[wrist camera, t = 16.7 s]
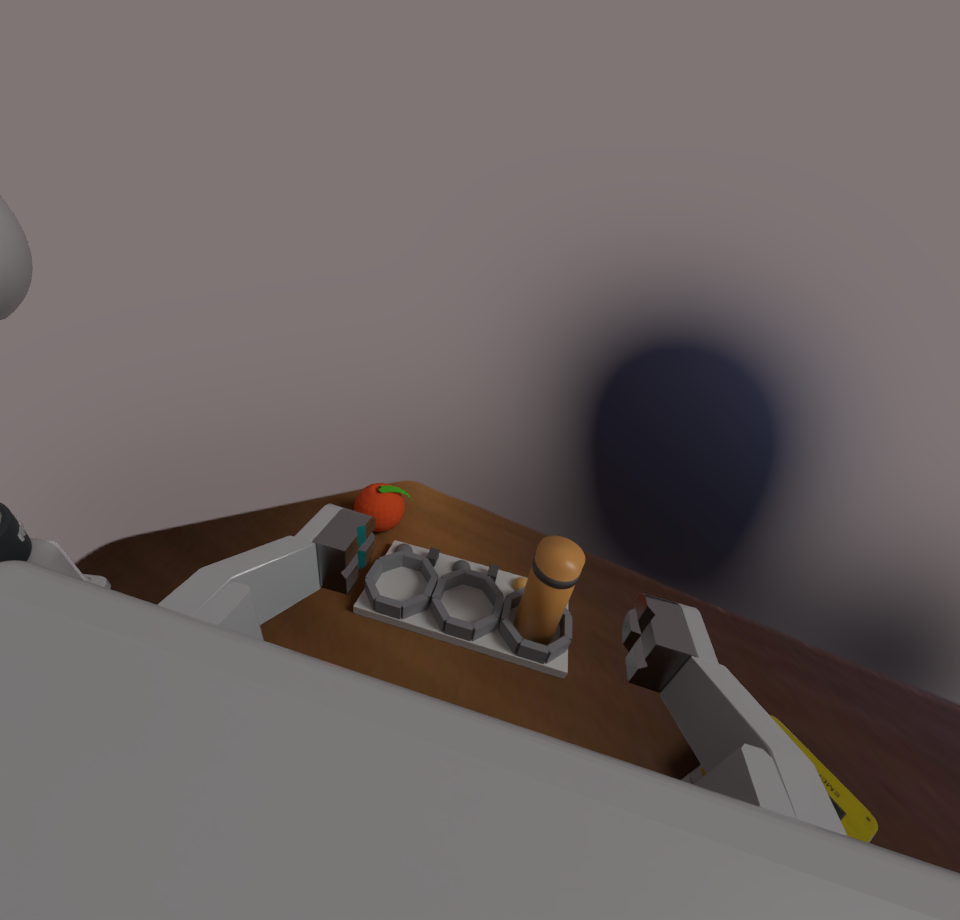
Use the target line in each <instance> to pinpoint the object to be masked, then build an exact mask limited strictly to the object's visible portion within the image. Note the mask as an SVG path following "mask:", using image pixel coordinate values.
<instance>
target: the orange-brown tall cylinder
mask: <svg viewBox="0 0 960 920" xmlns="http://www.w3.org/2000/svg"><path fill="white" fill-rule="evenodd" d="M584 563H585V555H584V553H583V551H582V549H581V548H580V547H579V546H578V545H577V544H575V543H574V542H573V541H571V540H569V539H567V538H564V537H560V536H548V537H545V538H543V539H542V540H541V541H540V543H539V545H538V548H537V551H536V553H535V556H534V559H533V562H532V567H531V570H530V573H529V576H528V579H527V582H526V585H525V588H524V591H523V595H522V598H521V601H520V604H519V607H518V610H517V613H516V616H515V619H514V627H515V628H516V630H517V631H518V632H519V634H520V635H521V637H522V638H523V639H526V640H529V641H533V642H536V643H539V644H542V645H548V644H549V643H550V642H551V640H552V638H553V636H554V633H555V631H556V629H557V626H558V624H559V622H560V619H561V617H562V615H563V612H564V610H565V608H566V605H567V603H568V601H569V598H570V596H571V593H572V591H573V589H574V586H575V584H576V583H577V581H578V578H579V576H580V574H581V570H582V568H583V565H584Z"/></svg>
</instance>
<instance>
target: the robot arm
mask: <svg viewBox="0 0 960 920" xmlns="http://www.w3.org/2000/svg"><path fill="white" fill-rule="evenodd" d="M31 277H32V258H31V252H30V248H29V245H28V242H27V239H26V236H25V234H24V231H23V230H22V228H21V226H20V224H19V222H18V220H17V218H16V217H15V215H14V213H13V212H12V211H11V209H10V208H9V206H8V205H7V203H6V202H5V201H4V199H3V198H2V197H1V196H0V320H2V319H5V318H7V317H8V316H9V315H10V314H11V313H13V312H14V311H15V310H16V309H17V307H18V306H19V305H20V304H21V302H22V301H23V299H24V298H25V296H26V294H27V292H28V289H29V286H30V283H31ZM375 527H376V519H375V518H374V517H372V516H369V515H366V514H363V513H359V512H356V511H353V510H350V509H347V508H342V507H339V506H336V505H333V504H327V505H325V506H324V507H323V508H322V509H321V510H320V511H319V512H318V513H317V514H316V515H315V516H314V517H313V518H312V519H311V520H310V521H309V522H308V523H307V524H306V525H305V526H304V527H303V528H302V529H301V530H300V531H299V532H298V533H297V534H296V535H295V536H294V537H293V536H287V537H284V538H282V539H279V540H276V541H274V542H271V543H268V544H265V545H263V546H260V547H257V548H255V549H252V550H249V551H246V552H244V553H241V554H238V555H236V556H233V557H230V558H227V559H225V560H222V561H219V562H217V563H214V564H211V565H208V566H206V567H203V568H200V569H199V570H198V571H197V572H196V573H195V574H193V575H192V576H191V577H190V578H189V579H187V580H186V581H185V582H184V583H183V584H181V585H180V586H179V587H178V588H177V589H176V590H174V591H173V592H172V593H171V594H170V595H168V596H167V597H166V598H165V599H164V600H163V601H161V602H160V603H159V604H158V605H155V604H152V603H149V602H146V601H143V600H140V599H137V598H134V597H131V596H129V595H126V594H123V593H120V592H117V591H114V590H111V589H110V588H111V584H110V583H109V581H108V580H107V579H106V578H105V577H102V576H96V575H87V574H82V573H81V572H80V571H79V569H78V568H77V567H76V565H75V564H74V563H73V562H72V560H71V559H70V558H69V557H68V555H67V554H66V553H65V551H64V550H63V549H62V548H61V547H60V545H59V544H57V543H56V542H54V541H45V540H41V539H32V538H29V536H28V535H27V533H26V531H25V528H24V526H23V524H22V523H21V522H20V520H19V519H18V518H17V516H15V515H14V514H12V513H11V512H10V510H9V509H8V508H7V507H6V506H5V505H4V504H2V503H0V920H960V873H957V872H954V871H951V870H948V869H945V868H942V867H939V866H936V865H933V864H930V863H927V862H924V861H921V860H918V859H915V858H912V857H909V856H906V855H903V854H900V853H897V852H894V851H891V850H888V849H885V848H882V847H879V846H876V845H873V844H870V843H867V842H864V841H861V840H858V839H855V838H852V837H849V836H847V834H846V831H845V829H844V827H843V825H842V823H841V821H840V819H839V817H838V815H837V812H836V810H835V808H834V806H833V804H832V802H831V800H830V798H829V795H828V793H827V791H826V789H825V787H824V785H823V783H822V781H821V779H820V776H819V774H818V772H817V770H816V768H815V766H814V764H813V763H812V762H811V761H810V760H809V758H808V757H807V756H806V755H805V754H804V753H803V752H802V751H801V750H800V749H799V747H798V746H797V745H796V744H795V743H794V742H793V741H792V740H791V739H790V738H789V736H788V735H787V734H786V733H785V732H784V731H783V730H782V729H781V728H780V727H779V725H778V724H777V723H776V722H775V721H774V720H773V719H772V718H771V717H770V715H769V714H768V713H767V712H766V711H765V710H764V709H763V708H762V707H761V706H760V704H759V703H758V702H757V701H756V700H755V699H754V698H753V697H752V696H751V695H750V693H749V692H748V691H747V690H746V689H745V688H744V687H743V686H742V685H741V684H740V682H739V681H738V680H737V679H736V678H735V677H734V676H733V675H732V674H731V673H730V671H729V670H728V669H727V668H726V667H725V666H723V665H720V664H719V663H718V661H717V658H716V655H715V653H714V650H713V647H712V644H711V642H710V639H709V636H708V633H707V631H706V628H705V625H704V622H703V620H702V617H701V614H700V612H699V611H698V610H697V609H696V608H693V607H689V606H686V605H682V604H679V603H675V602H671V601H668V600H664V599H660V598H657V597H653V596H649V595H646V594H642V593H641V594H640V595H638V597H637V598H636V600H635V601H634V602H635V609H632V610H630V611H628V613H627V615H626V617H625V618H624V622H623V627H622V639H623V644H624V646H625V647H626V649H627V650H628V652H629V653H628V655H627V656H626V658H625V663H626V670H627V677H628V682H629V683H632V684H635V685H638V686H641V687H644V688H646V689H649V690H652V691H655V692H658V693H660V694H659V695H660V697H661V698H662V700H663V702H664V703H665V705H666V707H667V708H668V710H669V712H670V714H671V715H672V717H673V719H674V720H675V722H676V724H677V725H678V727H679V729H680V730H681V732H682V734H683V735H684V737H685V739H686V740H687V742H688V744H689V745H690V747H691V749H692V750H693V752H694V754H695V755H696V757H697V759H698V760H699V762H700V764H701V765H702V767H703V769H704V770H705V772H706V774H705V775H704V776H703V777H701V778H700V779H699V780H698V781H696V782H695V783H694V784H690V783H687V782H684V781H681V780H678V779H675V778H672V777H669V776H666V775H663V774H660V773H658V772H655V771H652V770H649V769H646V768H643V767H640V766H637V765H634V764H631V763H628V762H625V761H622V760H619V759H616V758H613V757H610V756H607V755H604V754H601V753H598V752H595V751H592V750H589V749H586V748H583V747H580V746H577V745H574V744H571V743H568V742H565V741H562V740H559V739H556V738H553V737H550V736H547V735H544V734H541V733H538V732H535V731H532V730H529V729H526V728H523V727H520V726H517V725H514V724H511V723H508V722H505V721H502V720H499V719H496V718H493V717H490V716H487V715H484V714H481V713H478V712H475V711H472V710H469V709H466V708H463V707H460V706H457V705H454V704H451V703H448V702H445V701H442V700H439V699H436V698H433V697H430V696H427V695H424V694H421V693H418V692H415V691H412V690H409V689H406V688H403V687H400V686H397V685H394V684H391V683H388V682H385V681H382V680H379V679H376V678H373V677H370V676H367V675H364V674H361V673H358V672H355V671H352V670H349V669H346V668H343V667H340V666H337V665H334V664H331V663H328V662H325V661H322V660H319V659H316V658H313V657H310V656H307V655H304V654H301V653H298V652H295V651H292V650H290V649H287V648H284V647H281V646H278V645H275V644H272V643H269V642H266V641H264V639H263V635H262V631H261V628H260V625H261V624H262V623H264V622H266V621H267V620H269V619H271V618H272V617H274V616H276V615H277V614H279V613H281V612H282V611H284V610H286V609H287V608H289V607H291V606H292V605H294V604H295V603H297V602H299V601H300V600H302V599H304V598H305V597H307V596H309V595H310V594H312V593H314V592H315V591H317V590H319V589H320V587H322V588H326V589H329V590H333V591H336V592H340V593H343V594H348V592H349V591H350V589H351V588H352V586H353V585H354V583H355V582H356V580H357V579H358V570H359V569H361V568H363V567H365V566H366V565H367V563H368V562H369V560H370V558H371V556H372V554H373V551H374V547H375V539H376V537H375V536H374V534H373V533H372V531H373V530H374V528H375Z"/></svg>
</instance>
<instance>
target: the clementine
mask: <svg viewBox="0 0 960 920" xmlns="http://www.w3.org/2000/svg"><path fill="white" fill-rule="evenodd" d="M401 493H403V494H405V495H407V496H409V495H408V494H407V493H406V492H405V491H404V490H402V489H400V488H397V487H394V486H391V485H389V484H385V483H376V484H371V485H369V486H367V487H365V488H364V489H363V490H362V491H361V492H360V493H359V494H358V496H357V498H356V500H355V504H354V511H356V512H359V513H363V514H366V515H369V516H372V517H374V518H375V519H376V527H375V528H374V530H373V532H384V531H388V530H390V529H391V528H393V527H395V526H396V525H397V524H398V523H399V521H400V520H401V518H402V516H403V513H404V508H405V506H404V500H403V497H402V495H401ZM409 497H410V496H409ZM410 499H411V497H410ZM411 500H412V499H411Z"/></svg>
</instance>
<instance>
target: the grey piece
mask: <svg viewBox="0 0 960 920" xmlns="http://www.w3.org/2000/svg"><path fill="white" fill-rule="evenodd" d="M439 552H440V550H438V549H435V548H431V549H430V550H428V549H424V548H421V547H417V546H414V545H410V544H407V543H403V542H400V541H396V540H395V541H394V542H393V544H392V545H391V547H390V548H389V550H388V552H387V553H386V555H385V556H382V557H379V559H376V561H375V563H374V564H373V566H372V567H371V569H370V570H369V572H368V573H367V575H366V576H365V588H364V590H363V592H362V593H361V595H360V596H359V598H358V600H357V601H356V603H355V604H354V606H353V612H354V613H355V614H358V615H361V616H364V617H368V618H371V619H374V620H377V621H380V622H384V623H387V624H390V625H393V626H396V627H400V628H403V629H406V630H409V631H412V632H416V633H419V634H422V635H425V636H428V637H432V638H435V639H438V640H441V641H444V642H448V643H451V644H454V645H457V646H460V647H464V648H467V649H470V650H473V651H476V652H480V653H483V654H486V655H489V656H492V657H495V658H499V659H502V660H505V661H508V662H511V663H515V664H518V665H521V666H524V667H527V668H531V669H534V670H537V671H540V672H543V673H547V674H550V675H553V676H556V677H559V678H563V679H565V677H566V675H567V673H568V646H569V644H570V642H571V640H572V616H570V615H571V613H570V612H569V611H568V603H567V605H566V608H565V610H564V612H563V615H562V617H561V619H560V622H559V624H558V626H557V629H556V631H555V633H554V636H553V638H552V640H551V642H550V643H549V644H548V645H542V644H539V643H536V642H533V641H529V640H526V639H523V638H522V637H521V635H520V634H519V632H518V631H517V630H516V628H515V627H514V619H515V616H516V613H517V610H518V607H519V604H520V601H521V598H522V595H523V591H524V588H525V585H526V582H527V579H528V578H526V577H522V576H519V575H515V574H512V573H508V572H505V571H501V570H498V569H499V567H498V566H495V565H491V564H490V566H489V567H487V566H484V565H480V564H477V563H473V562H470V561H466V560H463V559H459V558H456V557H452V556H449V555H445V554H442V553H439Z"/></svg>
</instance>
